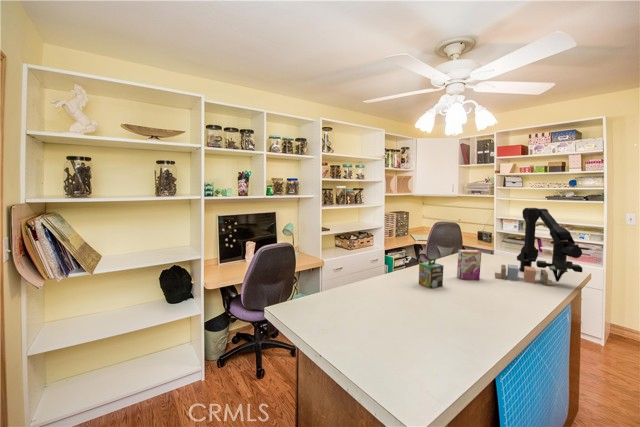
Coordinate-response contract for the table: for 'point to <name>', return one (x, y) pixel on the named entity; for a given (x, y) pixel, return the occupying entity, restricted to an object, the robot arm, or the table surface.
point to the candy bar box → (469, 264)
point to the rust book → (529, 274)
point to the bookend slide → (545, 278)
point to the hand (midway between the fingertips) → (557, 281)
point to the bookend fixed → (502, 274)
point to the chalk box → (431, 274)
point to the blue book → (512, 272)
